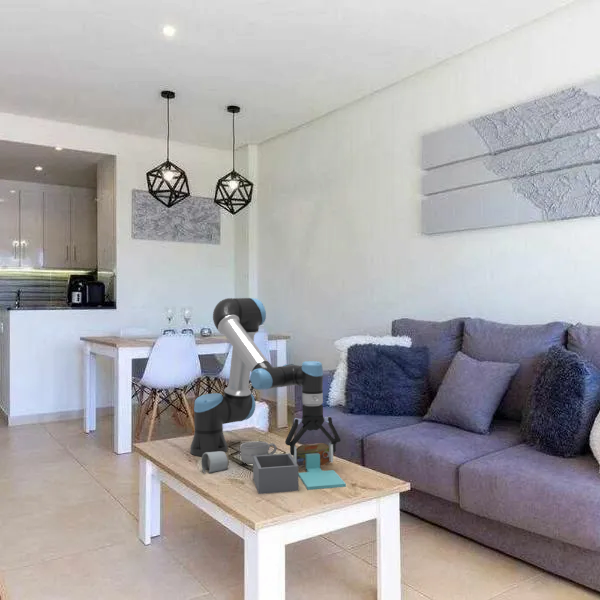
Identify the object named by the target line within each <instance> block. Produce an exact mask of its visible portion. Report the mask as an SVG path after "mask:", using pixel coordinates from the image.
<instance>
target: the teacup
mask: <svg viewBox="0 0 600 600" xmlns="http://www.w3.org/2000/svg"><path fill="white" fill-rule="evenodd" d="M271 447H273V450H272V451H271V452H270V453H269V450H270V448H271ZM277 448H278V447H277V445H276V444H275V443H273V442H270V443H268V442H266V441H248V442H243V443H241V444H240V458H241V459H240V460H241V461H242V462H243V464H245V463H246V464H253V456H259V455H274V454H276V451H277ZM246 464H245V465H246Z"/></svg>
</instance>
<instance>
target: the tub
mask: <svg viewBox="0 0 600 600" xmlns="http://www.w3.org/2000/svg"><path fill="white" fill-rule="evenodd" d="M298 473H299V465H298V464H297V463H296V462H295V460H294V459H293V455H291V453H290V452H289V453H278V454H277V453H274V454H273V455H259V456H253V466H252V480H253V482H254V485H255V488H256V490H257V493H258V494H259V495H261V494H264V495H265V494H274V493H275V494H276V493H288V492H290V493H291V492H299V487H300V486H299V476H298Z"/></svg>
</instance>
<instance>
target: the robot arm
mask: <svg viewBox="0 0 600 600" xmlns="http://www.w3.org/2000/svg"><path fill="white" fill-rule="evenodd" d="M266 319H267V312H266V308H265V306H264V303H263V302H262V301H261V300H260V299H258V298H254V297H239V298H238V297H236V298H232V297H231V298H230V297H229V298H225V299H222V300H220V301H219V302H218V303H217V304H216V305H215V307H214V309H213V313H212V321H213V324H214V326H215V328H216V329H217V331H218V332H219V333H220V334H222V335H224V336H225V338H226V339H227V340H228V342H229V344H230V345H231V346H232V349H231V350H232V351H231V361H230V370H229V377H228V386H227V387H225V388H224V391H223V395H222V393H219V392H218V393H217V392H215V393H206V394H203V395H200V396H198V397H197V398H196V399H195V400H194V406H193V411H194V415H193V416H194V417H193V419H194V423H193V424H194V434H193V438H192V442H191V444H190V448H189V449H190V451H189V452H190V454H191V455H193V456H197V457H202V456H203V454H204V453H206V452H217V451H223V452H225V453H226V454H227V452H228V444H227V440H226V438H225V435H224V430H223V429H224V425H226V424H233V423H236V422H237V423H238V422H243V421H246V420H249V419H250V418H251V417H253V415H254V413H255V411H256V401H255V400H256V399H255V397H254V395H253V394H252V391H251V389H250V388H249V384H250V382H251V386H252V387H253V388H254V389H255V390H260V391H261V390H270V389H275V388H277V389H278V388H284V387H290V386H298V387H299V386H300V387H302V388H301V390H302V391H301V396H302V397H301V399H302V400H301V401H302V402H301V403H302V406H301V408H302V410H301V411H302V413H301V414H302V417H301V418H297V417H294V418H293V424H292V426H291V429H290V430H289V433H288V435H287V437H286V438H285V441H284V443H285V444H286V446H289V447H290V448H289V451H290V452H289V453H290V454H291V456H292V457H293V459H294V460H295V462H296V463H297V451H296V449H297V446H296V445H297V443H298V442H299V440H300V439H301V438H302V436H303V435H304V434H305V433H306V432H307V431H309V432H310V431H318V430H321V432H322V433H323V434H324V436H326V438H327V439H328V440H329V441H330V442H329V443H328V445H329V461H330V463H334V453H336V450H337V449H336V448H337V447H336V445H337V443H339V442H341V438H340V436H339V434H338V432H337V430H336V427H335V426H334V424H333V419H332V417H331V416H329V415H327V416H325V417H324V405H323V403H324V398H323V397H324V384H323V383H324V382H323V381H324V378H323V377H324V376H323V375H324V371H323V363H322V362H321V361H319V360H318V361H316V360H315V361H313V360H310V361H309V360H307V361H303V362H301V363H302V364H301V365H297V364H294V363H287V364H283V365H282V366H281V365H280V366H272V364H271V363H270V361H268V358H267V357H266V356H265V355H264V354H263V352H262V351H261V350H260V348H259V347H258V346H257V344H256V343H255V342H254V341H255V340H254V339H255V335H256V334H257V333H258V332H259V329H260V326H262V325H264V323H265V322H266ZM324 422H325V423H326V424H328V426H329V428H330V431H331V433H332V434H333V436H332V435H331V434H330V433H329V432H328V431H327V429H325V427H324V426H323V424H324ZM301 423H302V426H301V427H300V429H299V431H298V432H297V433H296V431H297V428H298V426H299V425H300V424H301ZM295 433H296V434H295ZM294 435H295V436H294ZM333 437H334V438H333Z"/></svg>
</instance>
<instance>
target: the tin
mask: <svg viewBox="0 0 600 600" xmlns="http://www.w3.org/2000/svg"><path fill="white" fill-rule="evenodd" d="M296 451H297V465H298V467H299V466H300V467H301V466H305V454H312V453H319V454H320V467H321V466H328V465H329V464H330V463H331V462H330V461H329V444H327V443H323V442H319V443H318V442H317V443H309V444H302V445H299V446H298V447H296Z"/></svg>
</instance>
